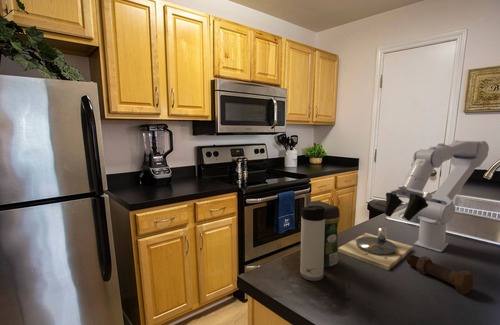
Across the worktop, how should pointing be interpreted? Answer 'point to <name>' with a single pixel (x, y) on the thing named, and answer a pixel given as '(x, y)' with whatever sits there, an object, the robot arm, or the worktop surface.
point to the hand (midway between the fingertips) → (396, 216)
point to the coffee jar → (329, 232)
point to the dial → (377, 243)
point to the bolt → (443, 273)
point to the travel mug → (312, 242)
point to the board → (376, 259)
